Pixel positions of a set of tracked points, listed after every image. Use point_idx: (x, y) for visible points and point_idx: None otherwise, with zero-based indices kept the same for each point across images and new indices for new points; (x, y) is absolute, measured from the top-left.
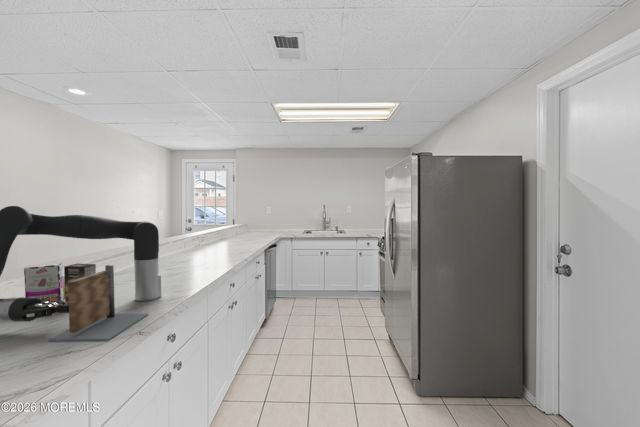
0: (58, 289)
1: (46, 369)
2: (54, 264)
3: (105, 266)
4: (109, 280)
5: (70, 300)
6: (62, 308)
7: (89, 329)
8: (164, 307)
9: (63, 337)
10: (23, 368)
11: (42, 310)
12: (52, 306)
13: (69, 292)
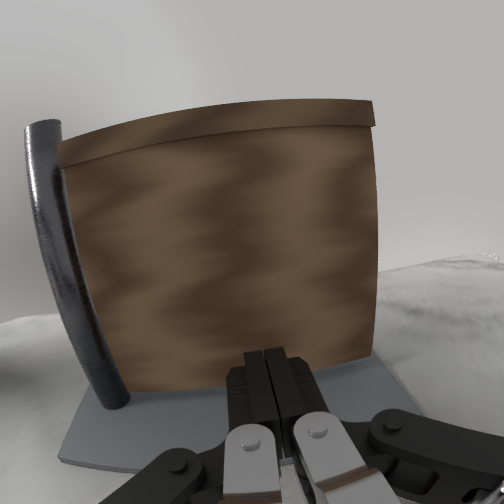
0: None
1: (464, 287)
2: None
3: (46, 123)
4: (69, 208)
5: (372, 203)
6: (314, 380)
7: None
8: None
9: (381, 386)
10: (496, 310)
11: (450, 432)
12: (345, 445)
13: (371, 159)
